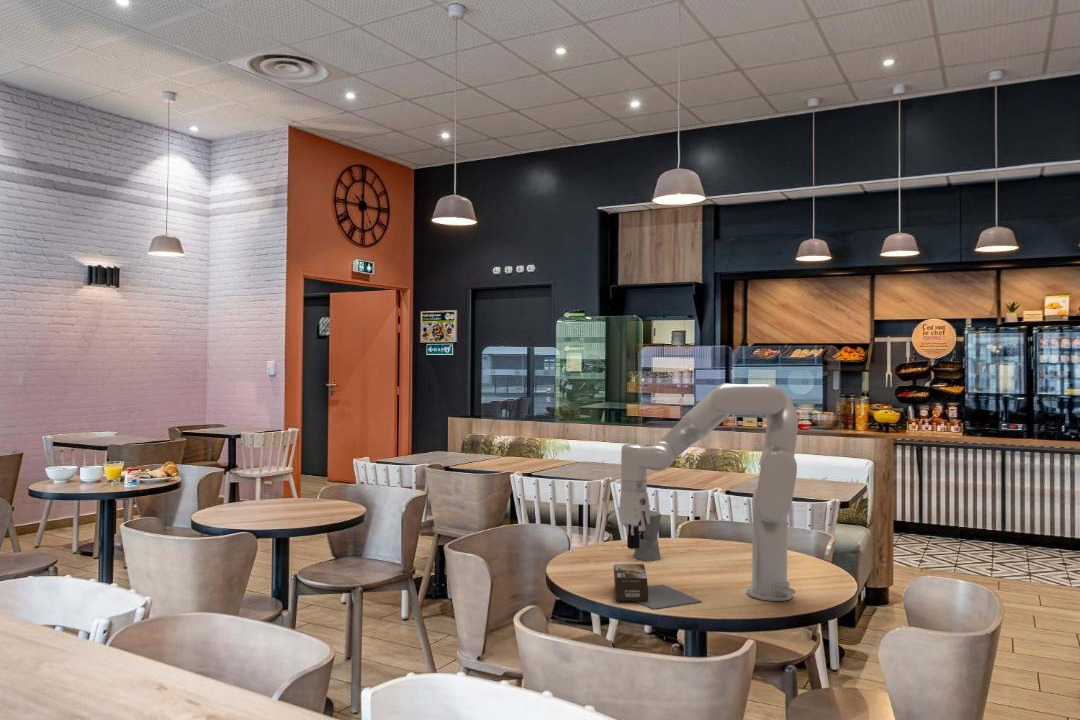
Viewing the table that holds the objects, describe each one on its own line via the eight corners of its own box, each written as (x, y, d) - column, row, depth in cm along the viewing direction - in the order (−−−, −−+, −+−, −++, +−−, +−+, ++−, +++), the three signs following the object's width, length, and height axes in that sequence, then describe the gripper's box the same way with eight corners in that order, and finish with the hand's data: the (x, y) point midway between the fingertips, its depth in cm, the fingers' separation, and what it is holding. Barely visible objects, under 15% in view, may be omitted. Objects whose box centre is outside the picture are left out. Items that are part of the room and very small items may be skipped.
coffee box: (614, 585, 228) (614, 601, 212) (613, 563, 228) (613, 578, 212) (645, 584, 227) (648, 601, 211) (644, 563, 227) (647, 577, 211)
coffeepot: (639, 552, 270) (639, 500, 271) (665, 555, 267) (666, 502, 267) (625, 562, 256) (626, 507, 256) (653, 565, 253) (654, 510, 253)
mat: (701, 602, 213) (701, 600, 213) (653, 609, 206) (653, 608, 206) (663, 585, 229) (663, 584, 229) (616, 592, 222) (617, 590, 222)
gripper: (658, 488, 224) (658, 552, 224) (630, 481, 238) (630, 541, 237) (637, 490, 221) (636, 554, 221) (609, 483, 234) (609, 544, 234)
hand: (633, 547), depth 229 cm, fingers closed
